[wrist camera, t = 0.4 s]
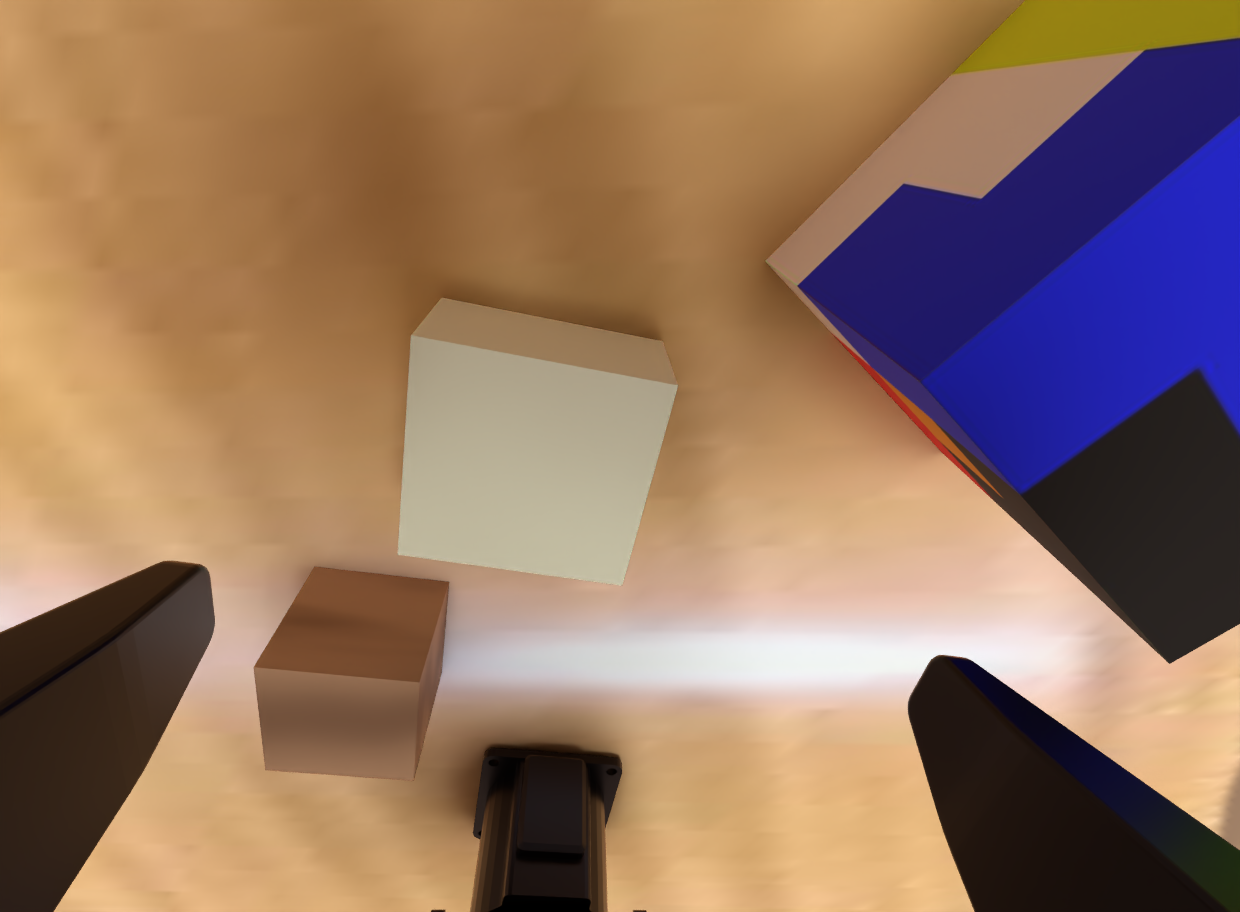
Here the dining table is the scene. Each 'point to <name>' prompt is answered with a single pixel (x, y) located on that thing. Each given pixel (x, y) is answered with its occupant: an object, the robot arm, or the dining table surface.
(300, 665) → the walnut cube
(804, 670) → the dining table surface
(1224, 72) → the puzzle toy
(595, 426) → the base block
